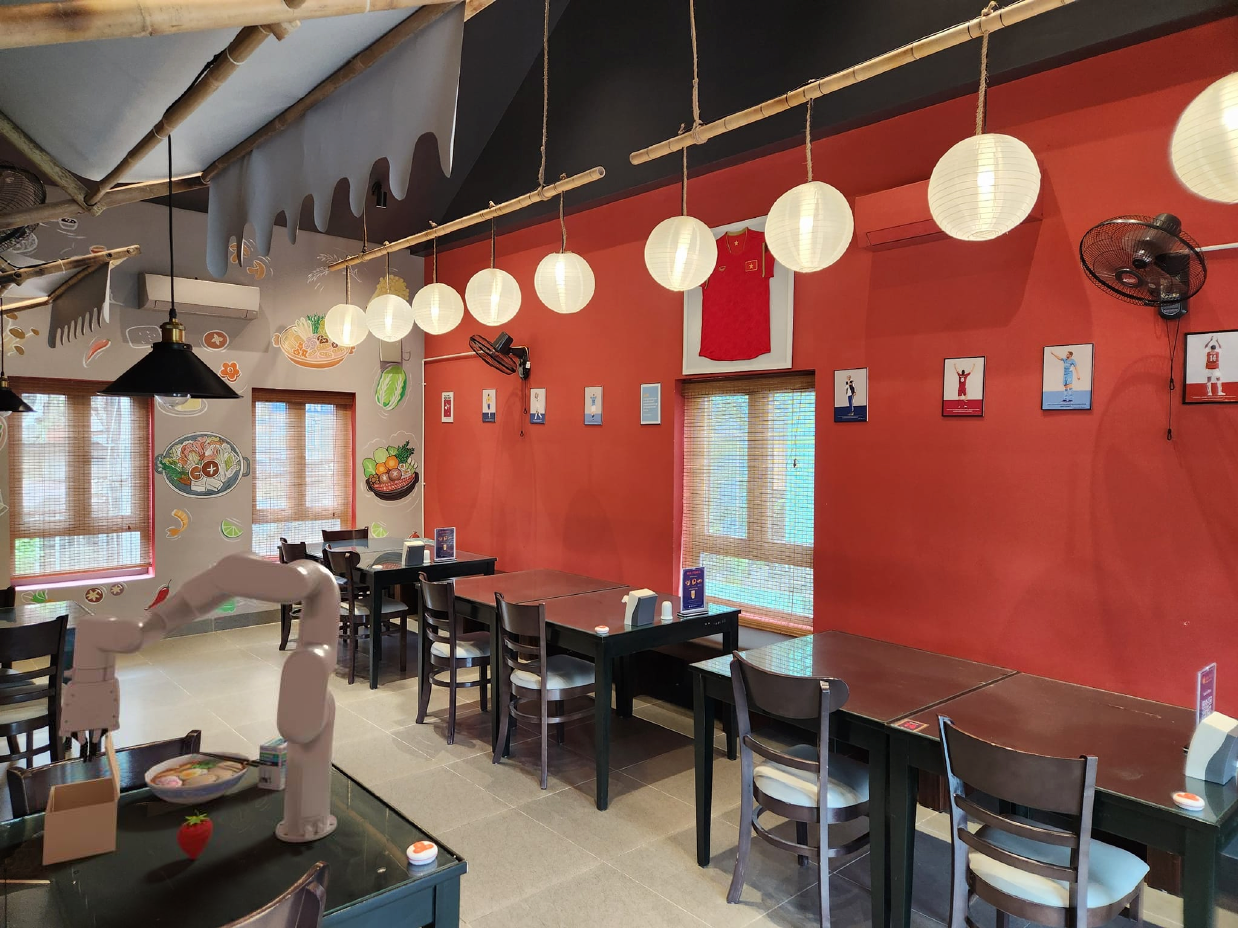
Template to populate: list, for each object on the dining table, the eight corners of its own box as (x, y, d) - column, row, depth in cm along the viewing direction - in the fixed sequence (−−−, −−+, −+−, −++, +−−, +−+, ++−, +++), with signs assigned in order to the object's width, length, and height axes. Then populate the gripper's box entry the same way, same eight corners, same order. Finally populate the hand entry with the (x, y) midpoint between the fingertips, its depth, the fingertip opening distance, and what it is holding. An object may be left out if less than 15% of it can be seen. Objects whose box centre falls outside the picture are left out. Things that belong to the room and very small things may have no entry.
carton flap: (116, 799, 156) (119, 798, 156) (104, 747, 155) (107, 746, 155) (117, 773, 169) (120, 772, 169) (105, 725, 168) (108, 724, 168)
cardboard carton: (115, 850, 156) (117, 801, 156) (42, 865, 149) (44, 814, 149) (116, 820, 169) (117, 775, 169) (49, 832, 162) (51, 786, 163)
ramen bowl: (116, 807, 176) (117, 772, 176) (203, 773, 197) (204, 741, 197) (192, 828, 166) (193, 791, 166) (274, 790, 187) (275, 757, 188)
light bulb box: (280, 791, 187) (282, 747, 187) (256, 788, 188) (258, 745, 188) (306, 774, 197) (307, 733, 198) (283, 772, 199) (285, 731, 199)
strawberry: (167, 867, 150) (169, 816, 150) (192, 848, 157) (194, 800, 157) (195, 869, 149) (197, 818, 149) (219, 850, 157) (221, 802, 157)
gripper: (48, 681, 153) (42, 772, 152) (135, 674, 161) (129, 760, 161) (51, 673, 159) (45, 760, 159) (135, 666, 168) (129, 749, 167)
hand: (87, 760), depth 160 cm, fingers closed
